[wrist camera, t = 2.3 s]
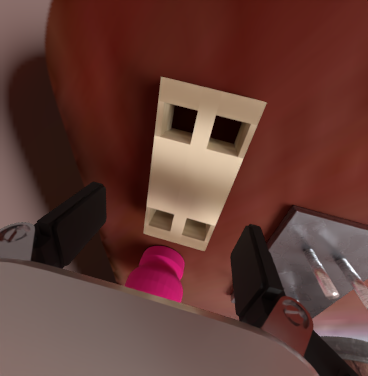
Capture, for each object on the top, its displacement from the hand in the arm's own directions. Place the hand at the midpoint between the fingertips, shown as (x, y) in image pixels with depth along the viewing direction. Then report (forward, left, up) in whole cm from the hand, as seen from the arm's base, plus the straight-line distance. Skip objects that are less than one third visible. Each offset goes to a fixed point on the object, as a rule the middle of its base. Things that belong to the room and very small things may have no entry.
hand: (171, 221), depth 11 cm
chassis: (+9, +16, -7) cm, 20 cm away
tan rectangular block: (-1, 0, -7) cm, 7 cm away
